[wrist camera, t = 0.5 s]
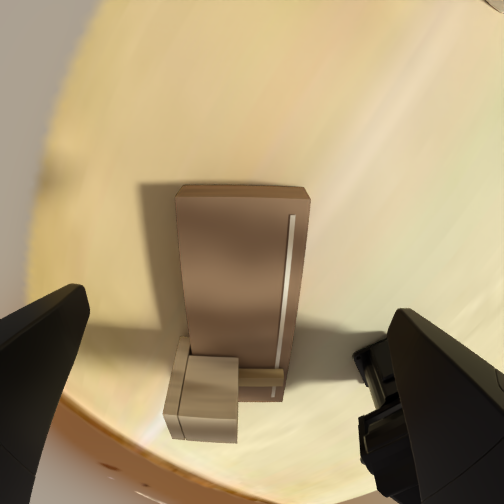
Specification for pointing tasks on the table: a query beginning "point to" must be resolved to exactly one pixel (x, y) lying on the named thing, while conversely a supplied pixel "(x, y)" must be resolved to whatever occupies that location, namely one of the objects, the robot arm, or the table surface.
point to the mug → (497, 5)
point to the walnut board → (243, 274)
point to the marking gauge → (209, 395)
